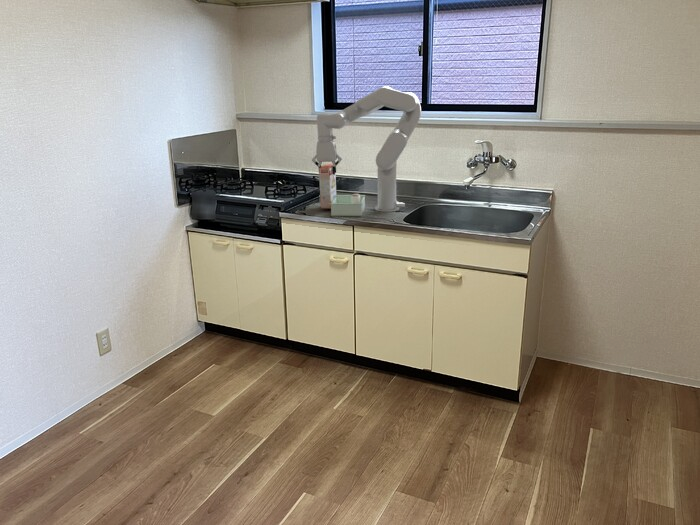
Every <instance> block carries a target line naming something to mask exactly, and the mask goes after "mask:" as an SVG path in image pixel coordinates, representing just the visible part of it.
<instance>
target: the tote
mask: <svg viewBox="0 0 700 525" xmlns="http://www.w3.org/2000/svg"><path fill="white" fill-rule="evenodd" d="M359 195H360V203H352V194H344V195H343V194H342V195H341V194H336V195H335V199H334V200H333V202H332V203H330V205H331V208H330V215H331V217H332V216H335V217H336V216H339V217H340V216H342V217H343V216H344V217H345V216H355V217H356V216H357V217H358V216H360V217H361V216H362V215H363V213H364V210H365V208H366V201H365V200H366V199H365V197H366V195H365V194H359Z"/></svg>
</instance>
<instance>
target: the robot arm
mask: <svg viewBox="0 0 700 525" xmlns="http://www.w3.org/2000/svg"><path fill="white" fill-rule="evenodd" d="M383 107H385V108H389V109H393V110H397V111H400V112H402V115H401V117H400V119H399V121H398V122H397V124H396V125H395V127H394V129H393V130H392V131H391V132H390V133H389V135H388V137H387V138H386V140H385V141H384V143H383V145H382V147H381V149H380V150H379V151H378V153H377V154H376V156H375V164H376V166H377V205H375V207H374V210H375V211H378V212H383V213H389V212H391V213H392V212H398V211H399V210H400V207H402V208H403V207H406V203H405V202H401V201H400V202H399V201H398V199H397V161H398V159H399V158H400V156H401V155H402V153H403V151H404V150H405V148H406V146H407V144H408V140H409V139H410V137H411V135H412V134H413V132H414V131H415V129H416V127H417V125H418V124H419V121H420V119H421V116H422V114H421V113H422V106H421V102H420V100H419V98H418V96H417V95H416V94H415V93H413V92H411V91H410V92H403V91H400V90H397V89H393V88H392V87H390V86H388V85H384V86H381V87H380V88H378V89H376V90H375V91H372V92H370V93H368V94H367V95H365V96H363V97H361V98H360V99H358V100H357V101H356V102H353V103H352V104H351V105H349V106H347V107H345V108H344V109H342V110H340V111H338V112H336V113H334V114H333V113H332V114H331V113H328V112H327V113H325V112H324V113H319V114H317V115H316V124H317V125H316V128H317V142H316V147H315V148H316V150H315V151H316V153H315V155H314V156H313V158H311V162H312V163H314V164H315V166H317V167H318V169H319V168H321V167H322V166H323V165H322V163H324V162H325V163H326V162H330V163H331V164H333V175H335V173H337V166H338V164H339V163H340V162H341V161H342V159H343V158H342V157H341V156H340V155H339V154H338V152H337V146H336V139H337V137H336V135H334V133H333V130H334V129H337V130H341V129H343V128H345V126H348V125H349V124H351V123H353V122H354V121H357V120H358V119H361V118H363V117H366V116H368V115H371V114H372V113H374V112H376V111H378V110H380V109H382V108H383ZM336 160H337V161H336Z"/></svg>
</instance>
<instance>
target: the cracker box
mask: <svg viewBox="0 0 700 525" xmlns="http://www.w3.org/2000/svg"><path fill="white" fill-rule="evenodd" d="M321 166H322V167H321V168H319V167H318V178H319V195H320V196H319V198H320V199H319V200H320V209H330V210H331V205H330V203H332V202H333V200H334V199H335V195H337V182H336V181H337V180H336V178H337V176H336V173H337V172H336V173H335V175H333V164H332V163H324V164H323V165H321Z"/></svg>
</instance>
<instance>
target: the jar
mask: <svg viewBox="0 0 700 525" xmlns="http://www.w3.org/2000/svg"><path fill="white" fill-rule="evenodd" d="M351 195H352V203H360V195H361V194H360V193H352V194H351Z"/></svg>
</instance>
